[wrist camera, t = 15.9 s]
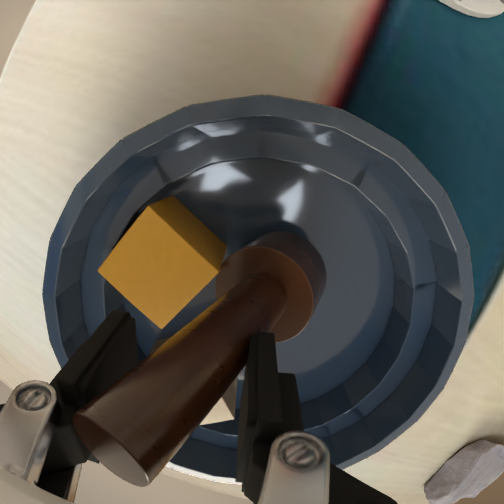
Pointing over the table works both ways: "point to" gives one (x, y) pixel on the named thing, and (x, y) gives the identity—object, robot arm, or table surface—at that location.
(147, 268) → the mustard block
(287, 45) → the table surface
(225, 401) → the cream block
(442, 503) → the stone block
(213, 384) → the pestle
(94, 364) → the robot arm
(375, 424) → the bowl
